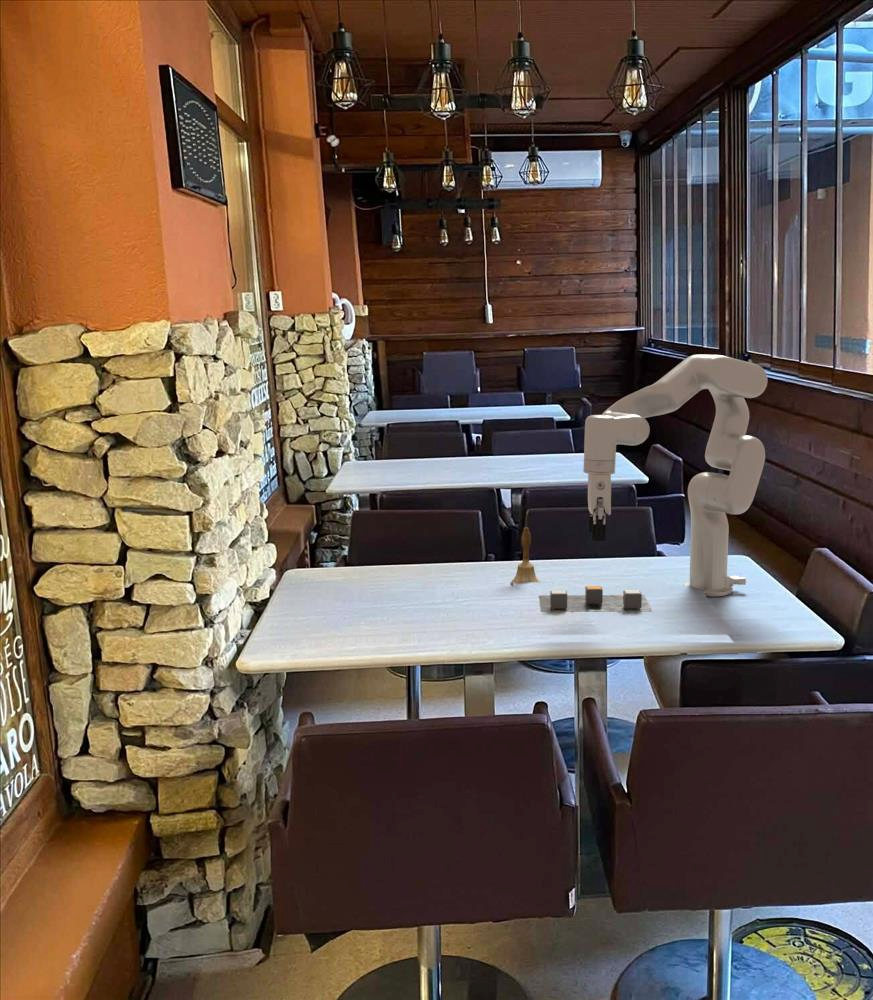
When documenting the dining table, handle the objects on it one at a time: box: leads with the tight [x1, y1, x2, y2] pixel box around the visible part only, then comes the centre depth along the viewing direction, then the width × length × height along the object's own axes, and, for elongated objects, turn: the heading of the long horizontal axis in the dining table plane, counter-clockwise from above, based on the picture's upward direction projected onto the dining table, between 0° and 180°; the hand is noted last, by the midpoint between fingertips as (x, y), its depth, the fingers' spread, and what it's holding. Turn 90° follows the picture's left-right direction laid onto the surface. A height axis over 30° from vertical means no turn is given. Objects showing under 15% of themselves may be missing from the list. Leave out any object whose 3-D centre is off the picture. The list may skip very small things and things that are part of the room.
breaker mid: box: [584, 585, 604, 603], centre depth 236 cm, size 4×3×4 cm
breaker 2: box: [622, 589, 643, 608], centre depth 231 cm, size 4×3×4 cm
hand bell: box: [510, 526, 541, 586], centre depth 260 cm, size 8×8×16 cm
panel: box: [538, 594, 653, 613], centre depth 237 cm, size 27×14×2 cm, turn 86°
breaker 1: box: [549, 590, 568, 608], centre depth 233 cm, size 4×3×4 cm
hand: (596, 536), depth 229 cm, fingers open, 9 cm apart
